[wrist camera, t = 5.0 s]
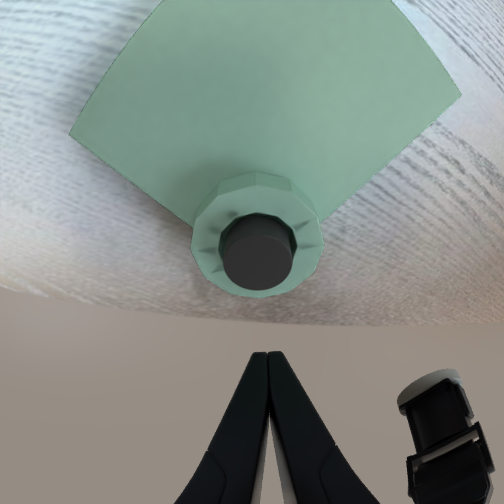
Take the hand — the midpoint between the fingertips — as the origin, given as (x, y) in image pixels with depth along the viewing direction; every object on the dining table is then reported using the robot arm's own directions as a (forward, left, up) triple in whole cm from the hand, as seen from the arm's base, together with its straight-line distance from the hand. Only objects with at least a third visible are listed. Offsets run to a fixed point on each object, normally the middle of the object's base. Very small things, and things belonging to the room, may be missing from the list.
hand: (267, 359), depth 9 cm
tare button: (0, 0, -6) cm, 6 cm away
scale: (+5, +4, -9) cm, 11 cm away
